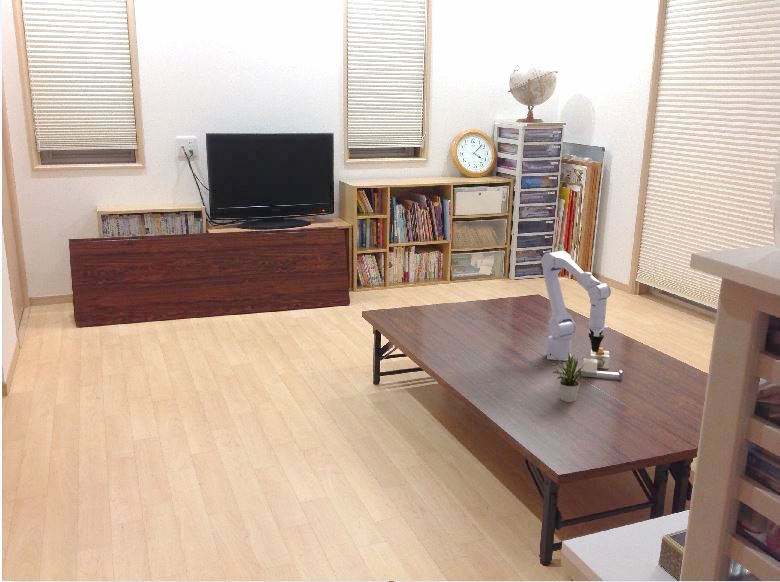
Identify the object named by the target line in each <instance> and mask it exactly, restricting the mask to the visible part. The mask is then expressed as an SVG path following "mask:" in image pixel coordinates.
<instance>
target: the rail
mask: <svg viewBox="0 0 780 582" xmlns="http://www.w3.org/2000/svg"><path fill="white" fill-rule="evenodd" d="M581 367H582V366H580V365H579V366H578V370H579V369H580V368H581ZM581 371H583V368H582V369H581V370H580V371H579V372H581ZM579 372H578V373H579ZM578 373H577V374H578ZM578 376H579V378H581V377H584V378H585V377H587V378H589V377H588V376H583V372H582V373H580V374H579V375H578ZM595 378H598V379H608V380H618V381H623V369H619V370H618V372H615V371H604V370H603V371H601V370H597V374H596V377H595Z"/></svg>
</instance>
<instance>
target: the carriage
mask: <svg viewBox="0 0 780 582" xmlns="http://www.w3.org/2000/svg"><path fill="white" fill-rule="evenodd" d="M584 364H585V365H584ZM583 365H584V366H583ZM582 366H583V367H582V370H583V371H586V372H583V376H582V377H584V376H588V377H587V378H596V374H597V371H598V368H597V359H590V358H585V357H584V358H583V363H582Z"/></svg>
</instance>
